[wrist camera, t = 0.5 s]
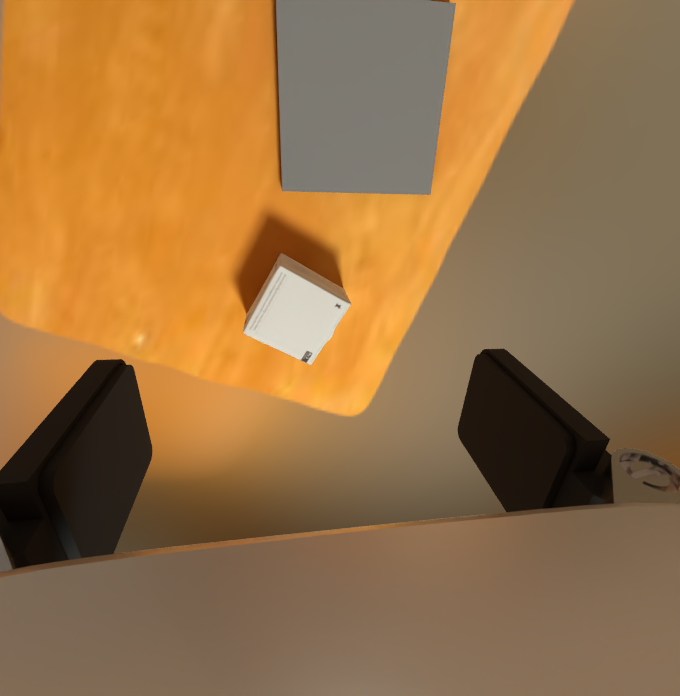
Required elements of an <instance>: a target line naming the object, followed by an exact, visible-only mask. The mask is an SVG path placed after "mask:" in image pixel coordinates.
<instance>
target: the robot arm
mask: <svg viewBox="0 0 680 696" xmlns="http://www.w3.org/2000/svg"><path fill="white" fill-rule="evenodd" d="M458 435H459V438H460V440H461V442H462V443H463V445H464V447H465V448H466V449H467V451H468V453H469V454H470V456H471V457H472V459H473V460H474V462H475V463H476V465H477V467H478V468H479V470H480V471H481V473H482V474H483V476H484V478H485V479H486V481H487V482H488V484H489V485H490V487H491V489H492V490H493V492H494V493H495V495H496V496H497V498H498V499H499V501H500V502H501V504H502V506H503V507H504V509H505V510H506V512H505V513H495V514H484V515H474V516H464V517H454V518H443V519H433V520H424V521H413V522H403V523H394V524H383V525H373V526H364V527H354V528H344V529H336V530H325V531H316V532H306V533H297V534H287V535H278V536H270V537H259V538H250V539H242V540H232V541H222V542H213V543H204V544H195V545H186V546H176V547H167V548H160V549H151V550H142V551H134V552H126V553H118V554H113V553H114V551H115V548H116V546H117V543H118V541H119V538H120V535H121V533H122V531H123V528H124V526H125V524H126V521H127V519H128V516H129V513H130V511H131V509H132V506H133V504H134V501H135V498H136V496H137V494H138V491H139V489H140V486H141V483H142V481H143V479H144V476H145V473H146V471H147V469H148V466H149V464H150V461H151V457H152V444H151V440H150V436H149V432H148V427H147V423H146V419H145V414H144V410H143V406H142V401H141V398H140V393H139V389H138V384H137V380H136V376H135V371H134V368H133V366H132V365H126V364H125V362H124V361H123V360H122V359H119V360H96V361H95V362H94V363H93V364H92V365H91V366H90V367H89V368H88V369H87V371H86V372H85V373H84V374H83V375H82V377H81V378H80V379H79V380H78V381H77V382H76V384H75V385H74V386H73V387H72V388H71V389H70V390H69V391H68V393H67V394H66V395H65V396H64V397H63V399H62V400H61V401H60V402H59V403H58V404H57V405H56V407H55V408H54V409H53V410H52V411H51V412H50V414H49V415H48V416H47V417H46V418H45V420H43V422H42V423H41V424H40V425H39V426H38V428H37V429H36V430H35V431H34V432H33V433H32V435H31V436H30V437H29V438H28V439H27V440H26V441H25V443H24V444H23V445H22V446H21V447H20V448H19V449H18V451H17V452H16V453H15V454H14V455H13V456H12V458H11V459H10V460H9V461H8V462H7V463H6V465H5V466H4V467H3V468H2V469H1V470H0V696H680V469H678V468H677V467H675V466H674V465H673V464H672V463H670V462H668V461H666V460H664V459H662V458H661V457H659V456H656V455H654V454H651V453H649V452H646V451H642V450H638V449H631V448H622V449H617V450H616V451H614V452H613V453H612V455H610V454H609V453H608V452H607V451H606V450H605V449H606V447H607V445H608V442H609V440H610V439H609V438H608V437H607V436H606V435H605V434H603V433H602V432H601V431H600V430H599V429H598V428H596V427H595V426H594V425H593V424H592V423H591V422H589V421H588V420H587V419H586V418H585V417H583V416H582V415H581V414H580V413H579V412H578V411H577V410H575V409H574V408H573V407H572V406H571V405H570V404H568V403H567V402H566V401H565V400H564V399H562V398H561V397H560V396H559V395H558V394H557V393H556V392H554V391H553V390H552V389H551V388H550V387H548V386H547V385H546V384H545V383H544V382H543V381H542V380H540V379H539V378H538V377H537V376H536V375H535V374H533V373H532V372H531V371H530V370H529V369H528V368H526V367H525V366H524V365H523V364H522V363H521V362H519V361H518V360H517V359H516V358H515V357H514V356H512V355H511V354H510V353H509V352H508V351H507V350H505V349H484V350H483V351H482V352H481V353H480V354H478V355H477V356H476V357H475V360H474V364H473V368H472V372H471V376H470V380H469V385H468V388H467V393H466V396H465V401H464V405H463V409H462V413H461V417H460V421H459V425H458Z"/></svg>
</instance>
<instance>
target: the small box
mask: <svg viewBox="0 0 680 696" xmlns="http://www.w3.org/2000/svg"><path fill="white" fill-rule="evenodd" d="M350 305H351V302H350V301H349V298H348V297H347V294H346V292H345V290H344V289H343V288H342V287H340V286H339V285H337V284H335V283H333V282H331V281H330V280H328V279H326V278H324V277H323V276H321V275H319V274H317V273H316V272H314V271H312V270H311V269H309V268H307V267H306V266H304V265H302V264H300V263H299V262H297V261H295V260H294V259H292V258H290V257H288V256H287V255H285V254H283V253H280V255H279V257H278V259H277V260H276V262H275V264H274V266H273V268H272V270H271V272H270V273H269V275H268V277H267V279H266V281H265V283H264V284H263V286H262V288H261V290H260V292H259V293H258V295H257V297H256V299H255V301H254V302H253V304H252V306H251V307H250V309H249V311H248V312H247V315H246V320H245V324H244V330H243V333H244V334H246V335H248V336H250V337H252V338H254V339H256V340H258V341H260V342H263V343H265V344H267V345H269V346H271V347H274V348H276V349H278V350H280V351H282V352H284V353H286V354H288V355H290V356H293V357H295V358H297V359H299V360H301V361H303V362H305V363H307V364H309V365H311V364H312V363H313V361H314V360H315V358H316V357H317V355H318V354H319V352H320V351H321V349H322V348H323V346H324V345H325V343H326V342H327V341H328V340H329V339H330V338H331V337H332V336H333V333H334V330H335V328H336V326H337V325H338V323H339V322H340V320H341V319H342V317H343V316H344V314H345V313H346V311H347V310H348V308H349V307H350Z"/></svg>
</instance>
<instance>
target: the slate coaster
mask: <svg viewBox="0 0 680 696" xmlns="http://www.w3.org/2000/svg"><path fill="white" fill-rule="evenodd" d="M455 5H456V3H449V2H439V1H430V0H276V23H277V53H278V84H279V114H280V145H281V176H282V191H300V192H341V193H381V194H421V195H430V193H431V186H432V178H433V171H434V163H435V156H436V148H437V141H438V133H439V126H440V118H441V111H442V103H443V95H444V88H445V80H446V73H447V65H448V58H449V50H450V43H451V35H452V28H453V20H454V13H455Z"/></svg>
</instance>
